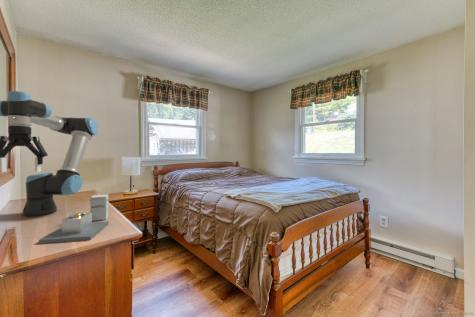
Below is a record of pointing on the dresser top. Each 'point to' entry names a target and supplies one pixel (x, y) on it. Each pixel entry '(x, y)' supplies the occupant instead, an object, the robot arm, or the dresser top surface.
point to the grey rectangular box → (76, 223)
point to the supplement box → (99, 207)
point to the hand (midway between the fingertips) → (20, 171)
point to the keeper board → (74, 234)
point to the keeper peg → (77, 215)
